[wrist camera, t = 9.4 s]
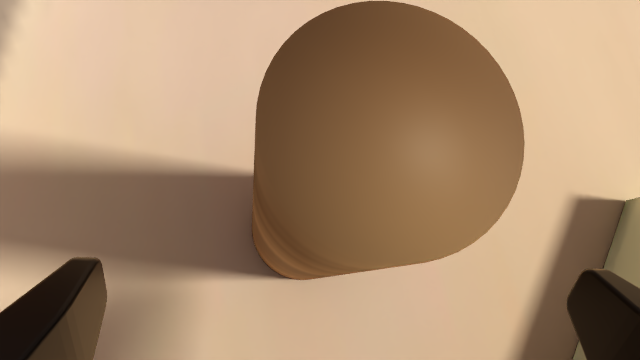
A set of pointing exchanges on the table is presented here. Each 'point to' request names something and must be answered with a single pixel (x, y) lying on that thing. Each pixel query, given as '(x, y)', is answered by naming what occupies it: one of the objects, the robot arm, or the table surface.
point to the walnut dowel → (380, 143)
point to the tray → (623, 251)
